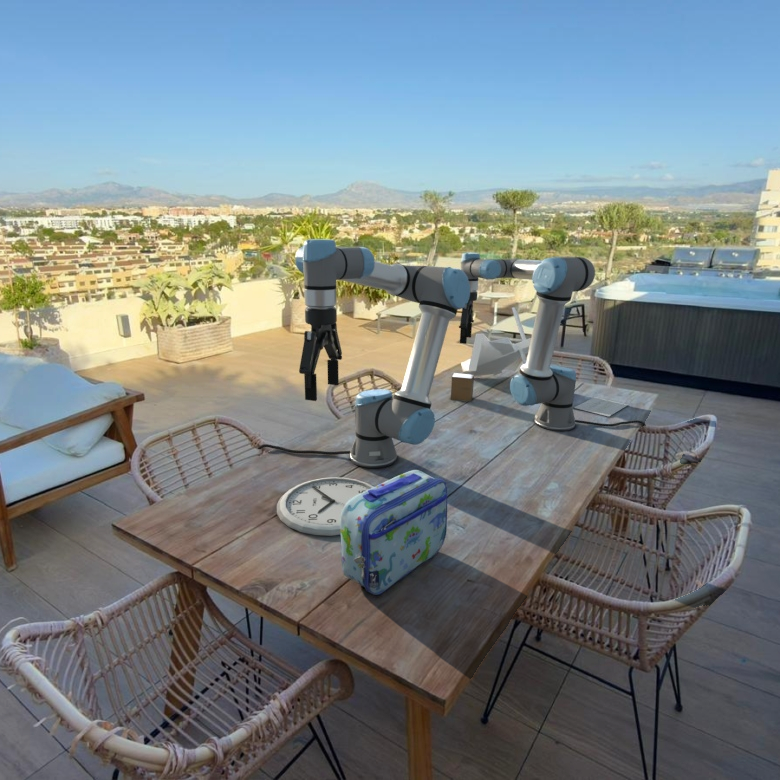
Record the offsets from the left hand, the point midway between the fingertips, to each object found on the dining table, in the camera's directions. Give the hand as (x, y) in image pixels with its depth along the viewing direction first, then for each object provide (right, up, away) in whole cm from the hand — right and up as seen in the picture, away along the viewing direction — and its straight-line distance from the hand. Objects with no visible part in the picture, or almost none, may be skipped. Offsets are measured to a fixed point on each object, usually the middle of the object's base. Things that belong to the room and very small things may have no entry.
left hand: (322, 392), depth 130 cm
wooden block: (+49, -3, +104) cm, 115 cm away
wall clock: (+1, -31, +12) cm, 33 cm away
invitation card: (+108, -7, +96) cm, 145 cm away
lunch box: (+18, -39, -13) cm, 45 cm away
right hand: (+50, +22, +96) cm, 110 cm away
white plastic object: (+71, +4, +127) cm, 145 cm away
